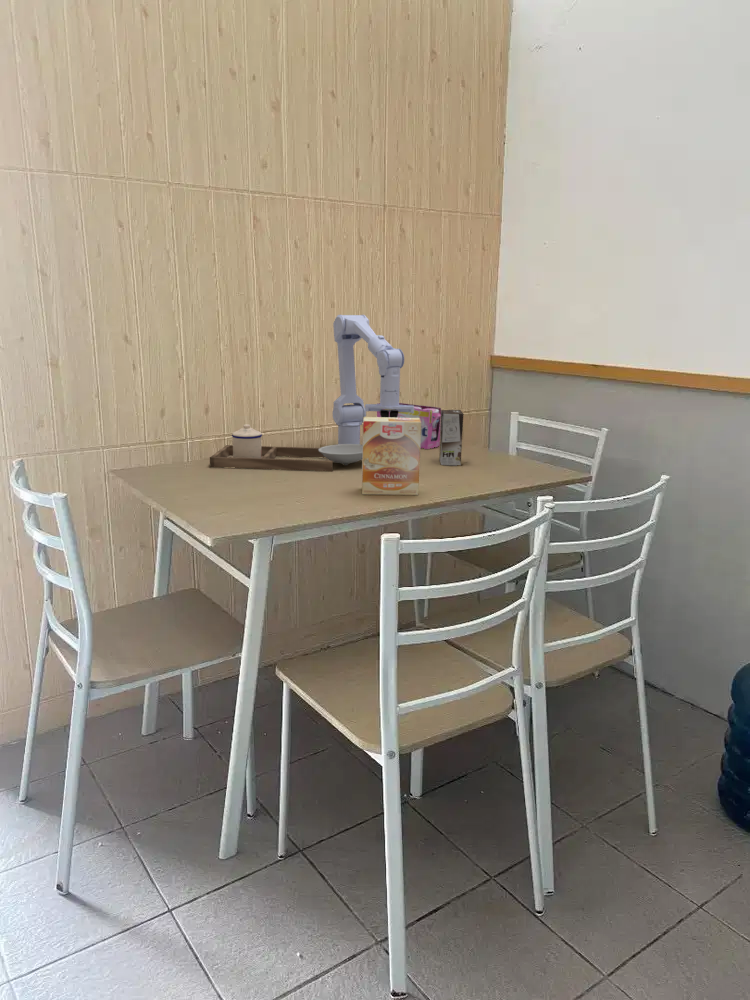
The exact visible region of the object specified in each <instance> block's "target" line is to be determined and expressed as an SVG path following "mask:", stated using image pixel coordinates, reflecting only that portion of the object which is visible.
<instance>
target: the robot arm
mask: <svg viewBox="0 0 750 1000" xmlns="http://www.w3.org/2000/svg"><path fill="white" fill-rule="evenodd" d="M332 326H333V338H334V342H335V343H336V344H337V359H338V372H339V387H340V396H338V397H337V398H336V399H335V400H334V401H333V409H332V420H333V422H334V424H336V425H337V427H338V429H337V432H338V433H337V434H338V435H337V438H338V439H337V445H338V444H360V445H361V437H360V436H361V426H363V417H367V412H377V411H380V415H381V417H389V412H390V417H395V418H397V416H398V412H410V413H414V405H415V404H413V405H399V403H400V389H401V387H400V385H401V383H400V382H401V369H402V368H403V367H404V366H405V365H404V364H405V354H404V352H403V350H402V349H401V348H394V347H393V346H392V344H391V343H390V342H388V341H387V340H386V338H385V336H384V335H380V334H378V335H377V334H376V333H375V331H374V330H373V329H372V327H371V326H370V319H369V318H368V317H367V316H366V315H365V314H360V315H359V314H358V315H357V314H337V315H336V317H335V318H334V320H333V325H332ZM360 340H363V341H365V343H367V349H368V351H369V352H370V353H371V355H373V356H374V357H375V358H376V365H377V367H378V374H379V375H380V386H379V387H380V388H379V389H380V390H379V403H380V404H378V403H375V404H374V403H371V404H369V403H368V404H367V403H366V404H364V399H363V398H361V397H360V396H359V395H358V393H357V383H356V382H357V381H356V366H355V365H356V364H355V350H354V347H355V344H356V343H357V342H359V341H360ZM379 409H380V410H379ZM383 409H396V410H383Z"/></svg>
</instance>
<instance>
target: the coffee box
mask: <svg viewBox="0 0 750 1000" xmlns="http://www.w3.org/2000/svg"><path fill="white" fill-rule="evenodd" d="M463 426H464V413H463V411H462V410H461V409H441V419H440V446H439V453H438V454H439V457H438V459H439V463H440V465H441V466H457V465H460V466H461V464H462V463H461V462H462V449H463V445H462V444H463V433H464V432H463V431H464V427H463Z"/></svg>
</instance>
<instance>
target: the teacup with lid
mask: <svg viewBox="0 0 750 1000" xmlns="http://www.w3.org/2000/svg"><path fill="white" fill-rule="evenodd" d="M262 436H263V434H262V432H261V431H259V430H257V429H254V428H253V427H251V425H250V424H249V423H248V424H247V423H246V424H243V427H241V428H239V429H238V430H235V431H232V433H231V437H232V440H231V441H232V445H233V455H232V457H234V458H262V457H263V456H262V446H263V445H262Z"/></svg>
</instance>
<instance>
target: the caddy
mask: <svg viewBox="0 0 750 1000" xmlns="http://www.w3.org/2000/svg"><path fill="white" fill-rule="evenodd" d="M319 448H320V447H304V446H303V447H301V446H300V447H299V446H294V447H293V446H270V445H269V446H265V445H262V458H234V457H233V444H228V445H227V444H226V445H224V446H223V447H222V448H221V449H219V450H218V451H217V452H215V453H214V454H212V455H211V456H210V457H209V468H210V467H235V468H234V469H241V468H254V469H253V470H272V469H281V470H280V471H302V470H315V471H314V472H333V471H332V470H333V469H334V467H333V463H334V462H333V461H330V460H328V459H327V460H324V459H323V460H321V459H298V458H303V457H325V456H324V455H323V454H322V453H321V452H319V451H318V450H319ZM231 456H232V457H231ZM276 456H288V457H287V459H286V458H277V457H276ZM289 456H290V457H289ZM275 457H276V458H275ZM290 458H292V459H290ZM293 458H297V459H293Z"/></svg>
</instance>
